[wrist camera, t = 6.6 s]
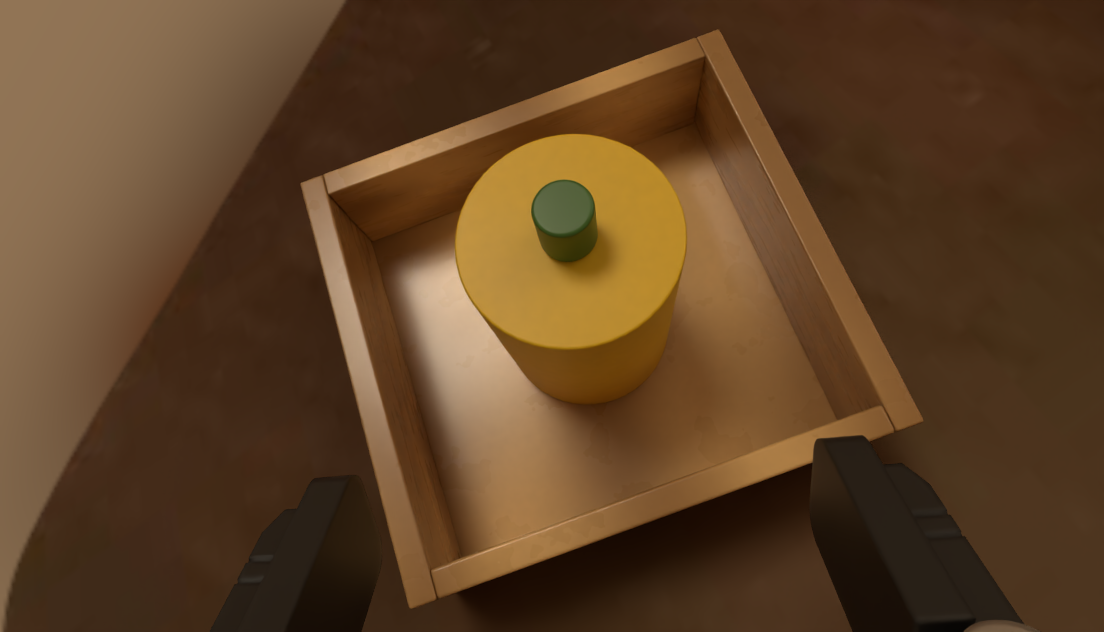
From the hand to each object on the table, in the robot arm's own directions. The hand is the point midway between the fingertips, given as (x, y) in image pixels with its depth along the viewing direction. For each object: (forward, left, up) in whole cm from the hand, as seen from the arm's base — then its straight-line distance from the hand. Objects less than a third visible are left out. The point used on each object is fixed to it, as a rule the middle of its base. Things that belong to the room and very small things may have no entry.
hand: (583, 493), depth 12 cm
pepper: (+2, +6, -10) cm, 12 cm away
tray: (+2, +6, -11) cm, 13 cm away
